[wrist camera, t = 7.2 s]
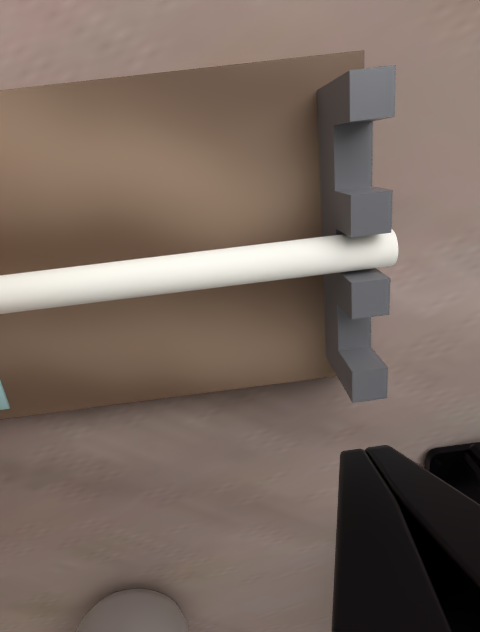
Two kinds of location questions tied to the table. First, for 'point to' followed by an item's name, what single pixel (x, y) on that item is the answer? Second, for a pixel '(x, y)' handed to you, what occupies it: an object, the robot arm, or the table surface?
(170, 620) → the plastic bottle
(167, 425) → the table surface
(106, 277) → the cord
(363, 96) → the cable comb
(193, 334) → the cord board
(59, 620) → the table surface
